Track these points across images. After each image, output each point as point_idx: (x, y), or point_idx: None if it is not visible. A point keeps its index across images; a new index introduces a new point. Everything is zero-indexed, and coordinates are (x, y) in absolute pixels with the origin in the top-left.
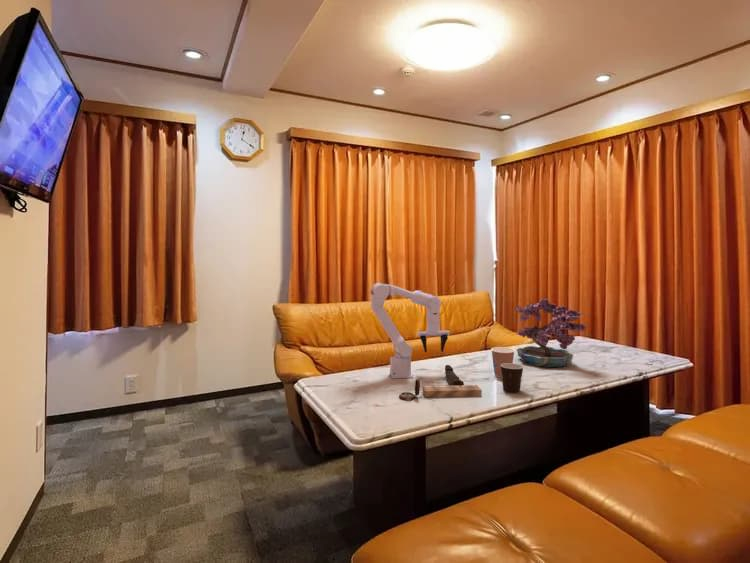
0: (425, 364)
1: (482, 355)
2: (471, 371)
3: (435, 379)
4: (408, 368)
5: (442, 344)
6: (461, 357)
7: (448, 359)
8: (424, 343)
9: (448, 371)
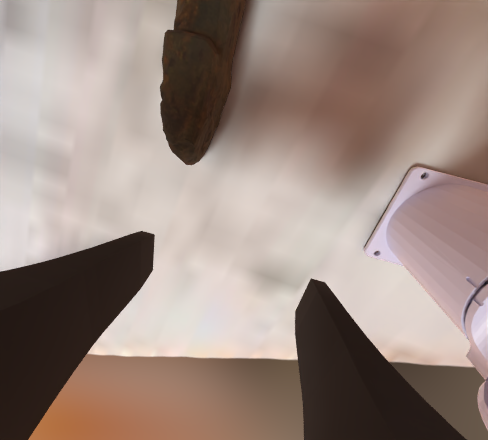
0: (228, 323)
1: None
2: (70, 174)
3: (296, 95)
4: (469, 202)
5: (81, 270)
6: None
7: (126, 335)
8: (400, 389)
9: (215, 16)
